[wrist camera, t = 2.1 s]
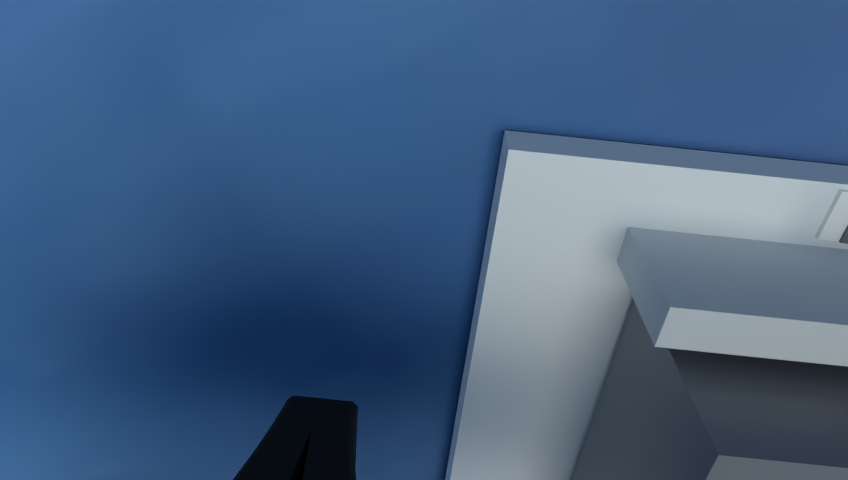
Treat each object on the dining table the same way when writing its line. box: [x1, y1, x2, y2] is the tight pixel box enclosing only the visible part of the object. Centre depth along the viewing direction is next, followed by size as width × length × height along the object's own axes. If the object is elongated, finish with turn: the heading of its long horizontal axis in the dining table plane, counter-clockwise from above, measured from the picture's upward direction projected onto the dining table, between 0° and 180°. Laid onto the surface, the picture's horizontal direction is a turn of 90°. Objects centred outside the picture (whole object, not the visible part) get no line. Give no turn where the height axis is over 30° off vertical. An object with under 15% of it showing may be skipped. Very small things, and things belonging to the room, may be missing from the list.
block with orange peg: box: [572, 302, 848, 480], centre depth 11 cm, size 9×7×4 cm
